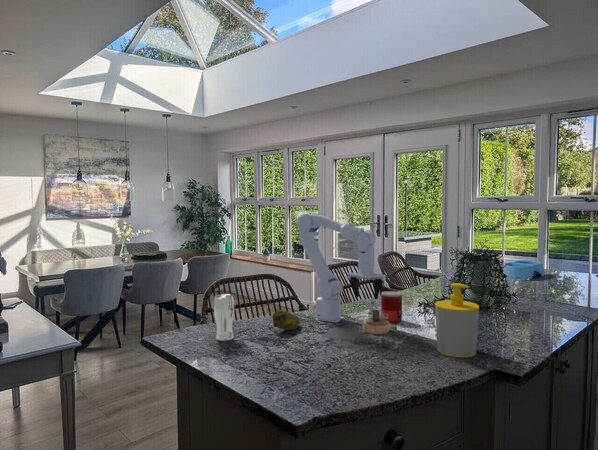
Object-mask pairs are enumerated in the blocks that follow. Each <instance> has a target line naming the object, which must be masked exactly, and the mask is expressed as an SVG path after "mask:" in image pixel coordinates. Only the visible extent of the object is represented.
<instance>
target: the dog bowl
mask: <svg viewBox="0 0 598 450" xmlns="http://www.w3.org/2000/svg"><path fill="white" fill-rule="evenodd" d="M503 264H507V265H508V266H506V267H505V268H504V273H505V274H506V275H507V279H506V280H508V279H528V278H533V277H532V275H537V274H538V273H540V275H541V276H542V275H545V276H546V274H545V269H544V265H543V263H542V262H541V261H536V260H514V261H509V262H506V263H505V262H504V263H503ZM538 275H539V274H538ZM538 275H537V276H538Z"/></svg>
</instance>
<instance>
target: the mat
mask: <svg viewBox="0 0 598 450" xmlns="http://www.w3.org/2000/svg"><path fill="white" fill-rule="evenodd" d="M365 333H367V332H366V331H364V330H362V329H353V328H345V327H339V326H335V327H333V328H331V329H329V331H327V332H326V333H324V334H322V335H321V337H323V338H324V337H325V338H331V339H332V338H333V339H337V340H346V341H351V342H354V341H355V340H357V339H358V338H360V337H361V336H362V335H363V334H365Z"/></svg>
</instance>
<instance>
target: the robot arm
mask: <svg viewBox="0 0 598 450" xmlns="http://www.w3.org/2000/svg"><path fill="white" fill-rule="evenodd" d="M296 226H297V228H298V234H299V235H298V237H299V241H300V243H301V245H302V247H303V248H304V250H305V253H306V256H307V257H308V259H309V261H310V263H311V265H312V267H313V269H314V272H315V274H316V276H317V277H318V278H317V286H318V291H319V294H320V296H318V297H317V299H316V302H315V320H316V321H324V322H330V323H339V322H340V321H341V320H343V319H344V318H345V317H344V316H341V293H342V292H343V290H344V284H343V283H342V282H341V280H339V279H338V276H337V275H335V274H334V273H333V272H332V271H331V270H330V268H329V265H328V264H327V262H326V259H325V258H324V256H323V254H322V252H321V250H320V248H319V245H318V244H317V241H316V240H315V236H316V233H317V231H319V229H320V228H321V227H324V228H327V229H329V230H332V231H335V232H338V233H339V234H340V235H341V238H344V239H346V240H349V241H351V242H353V243H356V245H357V247H358V249H357V250H358V272H347V279H348V280H349V281H348V282H349V284H350V285H351V288H352V290H353V293H354V297H355V298H356V299H358V298H359V297H360V279H361V280H373V290H374V297H373V298H374V300H378V299H379V294H380V291H381V288H382V286H383V284H384V281H386V278H387V276H386V274H380V273H379V274H378V273H375V266H374V265H375V262H374V261H375V260H374V259H375V258H374V257H375V255H374V244H375V242H376V240H377V239H376V234H375V233H374V232H373V231H372V230H371V229H370V230H365V229H364V228H363V227H358V226H355V225H354V223H352V222H349V223H344V224H342V223H341V222H338V221H336V220H333V219H331V218H329V217H327V216H326V215H323V214H319V213H316V212H315V213H302V214H300V216H299V218H298V220H297V223H296Z"/></svg>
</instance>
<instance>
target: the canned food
mask: <svg viewBox="0 0 598 450" xmlns="http://www.w3.org/2000/svg"><path fill="white" fill-rule="evenodd" d="M380 293H381V296H380V297H381V299H380V300H381V302H380V305H381V306H380V307H381V308H380V309H381V310H380V312H381V317H380V318H383V319H385V320H387V321H388V322H389V323H390V324H398V323H401V322H402V320H403V294H402V292H400V291H395V290H394V291H393V290H390V291H389V290H386V291H382V292H380Z"/></svg>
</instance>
